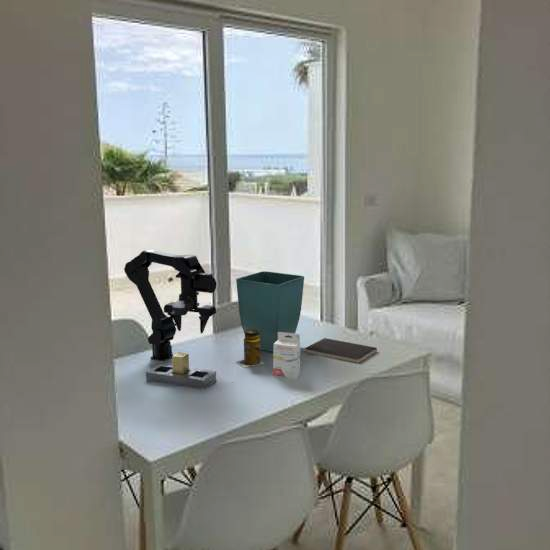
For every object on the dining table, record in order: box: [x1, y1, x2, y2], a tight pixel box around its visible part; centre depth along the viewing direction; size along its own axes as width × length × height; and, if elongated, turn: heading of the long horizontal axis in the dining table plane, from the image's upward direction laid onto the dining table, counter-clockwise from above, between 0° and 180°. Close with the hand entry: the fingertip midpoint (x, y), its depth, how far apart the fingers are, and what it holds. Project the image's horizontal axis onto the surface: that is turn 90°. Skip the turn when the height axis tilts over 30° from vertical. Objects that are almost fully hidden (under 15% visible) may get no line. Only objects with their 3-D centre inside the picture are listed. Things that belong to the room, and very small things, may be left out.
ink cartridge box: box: [272, 332, 301, 379], centre depth 204 cm, size 9×5×15 cm, turn 71°
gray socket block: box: [145, 363, 217, 390], centre depth 201 cm, size 22×9×3 cm, turn 68°
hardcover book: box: [304, 337, 378, 364], centre depth 229 cm, size 16×23×2 cm
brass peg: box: [171, 352, 190, 375], centre depth 200 cm, size 4×4×9 cm
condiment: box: [235, 330, 265, 368], centre depth 216 cm, size 7×8×12 cm
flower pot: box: [235, 270, 305, 353], centre depth 234 cm, size 20×20×28 cm
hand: (190, 332), depth 215 cm, fingers open, 9 cm apart
